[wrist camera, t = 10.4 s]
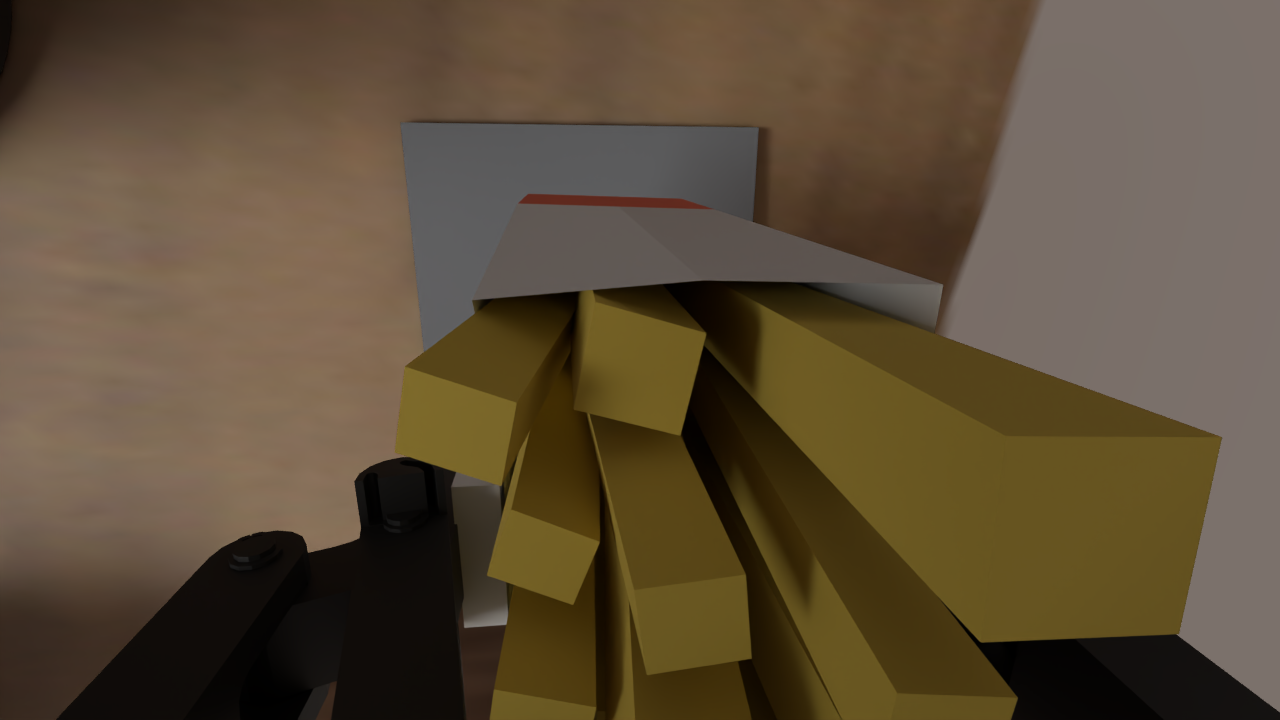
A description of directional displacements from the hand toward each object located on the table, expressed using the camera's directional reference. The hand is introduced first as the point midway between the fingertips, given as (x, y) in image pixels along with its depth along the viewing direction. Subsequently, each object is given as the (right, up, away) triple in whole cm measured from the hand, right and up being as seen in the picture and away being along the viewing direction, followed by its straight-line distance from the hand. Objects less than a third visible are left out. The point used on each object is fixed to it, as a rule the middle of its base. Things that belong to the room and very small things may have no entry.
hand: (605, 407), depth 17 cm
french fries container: (-1, +1, +4) cm, 4 cm away
